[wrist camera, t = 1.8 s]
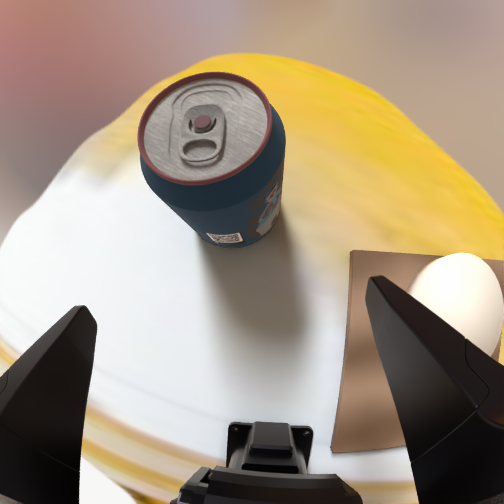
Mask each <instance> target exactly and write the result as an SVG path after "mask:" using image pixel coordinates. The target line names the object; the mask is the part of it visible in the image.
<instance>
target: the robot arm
mask: <svg viewBox="0 0 504 504" xmlns="http://www.w3.org/2000/svg"><path fill="white" fill-rule="evenodd" d="M365 303H366V307H367V311H368V315H369V319H370V323H371V328H372V332H373V336H374V341H375V345H376V348H377V351H378V354H379V357H380V360H381V363H382V366H383V369H384V372H385V375H386V378H387V381H388V384H389V387H390V391H391V394H392V397H393V400H394V404H395V407H396V410H397V414H398V417H399V421H400V424H401V428H402V432H403V435H404V439H405V443H406V447H407V451H408V455H409V459H410V462H411V468H412V472H413V477H414V481H415V486H416V491H417V496H418V501H419V504H504V366H503V365H502V364H500V363H499V362H497V361H496V360H495V359H493V358H492V357H490V356H489V355H488V354H486V353H485V352H484V351H482V350H481V349H480V348H479V347H477V346H476V345H475V344H474V343H472V342H471V341H470V340H469V339H467V338H466V339H465V336H463V335H462V334H461V333H460V332H458V331H457V330H456V329H455V328H453V327H452V326H451V325H449V324H448V323H447V322H446V321H444V320H443V319H442V318H440V317H439V316H438V315H437V314H435V313H434V312H433V311H431V310H430V309H429V308H427V307H426V306H425V305H423V304H422V303H421V302H419V301H418V300H417V299H415V298H414V297H413V296H411V295H410V294H408V293H407V292H406V291H404V290H403V289H402V288H400V287H399V286H397V285H396V284H395V283H393V282H392V281H391V280H389V279H388V278H386V277H385V276H383V275H375V276H371V277H369V279H368V283H367V289H366V295H365ZM96 335H97V323H96V321H95V319H94V318H93V316H92V314H91V313H90V311H89V310H88V308H87V307H86V306H84V305H79V306H74V307H73V308H72V309H71V310H70V311H68V312H67V313H66V314H65V315H64V316H63V317H62V318H61V319H60V320H58V321H57V322H56V323H55V324H54V325H53V326H52V327H51V328H50V329H49V330H48V331H47V332H46V333H44V334H43V335H42V336H41V337H40V338H39V339H38V340H37V341H36V342H35V343H34V344H33V345H32V346H31V347H30V348H29V349H28V350H27V351H26V352H25V353H24V354H23V355H22V356H21V357H20V358H19V359H18V360H17V361H16V362H15V363H14V364H13V365H12V366H11V367H10V368H9V369H8V370H7V371H6V372H5V373H4V374H3V375H2V376H1V377H0V504H79V480H80V472H79V471H80V460H81V459H80V458H81V447H82V437H83V428H84V419H85V412H86V405H87V398H88V392H89V386H90V380H91V375H92V369H93V361H94V352H95V343H96ZM234 426H235V427H237V428H238V429H237V430H234V429H233V428H232V427H234ZM304 431H309V433H307V434H304ZM312 436H313V430H312V428H311V427H310V426H290V425H289V424H288V423H272V422H255V423H243V422H232V423H230V425H229V428H228V442H227V460H226V467H220V466H216V467H215V468H214V470H211V469H210V468H207V467H201V468H200V469H199V470H198V471H197V472H196V473H195V474H194V475H193V476H192V477H191V478H190V479H189V480H188V481H187V482H186V483H185V484H184V485H183V486H182V487H181V489H180V491H179V496H178V498H176V499H174V500H172V501H171V502H170V504H363V502H362V499H361V497H360V495H359V494H358V492H356V491H355V490H354V489H353V488H351V487H350V486H349V485H348V484H346V483H345V482H344V481H343V480H342V479H340V478H339V477H338V476H337V475H336V474H307V465H308V460H309V454H310V448H311V442H312Z"/></svg>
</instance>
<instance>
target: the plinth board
mask: <svg viewBox="0 0 504 504" xmlns="http://www.w3.org/2000/svg"><path fill="white" fill-rule="evenodd" d="M375 275H383V276H385V277H386V278H388V279H389V280H391V281H392V282H393V283H395V284H396V285H397V286H399V287H400V288H402V289H403V290H404V291H406V292H407V293H408V294H410V295H411V296H413V297H414V298H415V299H417V300H418V301H419V302H421V303H422V304H423V305H425V306H426V307H427V308H429V309H430V310H431V311H433V312H434V313H435V314H437V315H438V316H439V317H440V318H442V319H443V320H444V321H446V322H447V323H448V324H449V325H451V326H452V327H453V328H455V329H456V330H457V331H458V332H460V333H461V334H462V335H463V336H465V339H466V338H467V339H469V340H470V341H471V342H472V343H474V344H475V345H476V346H477V347H479V348H480V349H481V350H482V351H484V352H485V353H486V354H488V355H489V356H490V357H492V358H493V359H495V360H496V361H497V362H498V359H499V352H500V344H501V335H502V326H503V318H504V261H501V260H489V259H480V258H479V257H477V256H475V255H472V254H468V253H456V254H452V255H448V256H435V255H422V254H407V253H393V252H378V251H364V250H352V251H351V252H350V271H349V295H348V312H347V325H346V338H345V348H344V358H343V367H342V376H341V384H340V391H339V398H338V405H337V412H336V418H335V424H334V430H333V435H332V441H331V446H330V448H331V450H332V453H339V452H354V451H365V450H374V449H382V448H390V447H397V446H403V445H406V443H405V439H404V435H403V432H402V428H401V424H400V421H399V417H398V414H397V410H396V407H395V404H394V400H393V397H392V394H391V391H390V387H389V384H388V381H387V378H386V375H385V372H384V369H383V366H382V363H381V360H380V357H379V354H378V351H377V348H376V345H375V341H374V336H373V332H372V328H371V323H370V319H369V315H368V311H367V307H366V303H365V295H366V289H367V283H368V279H369V277H371V276H375Z"/></svg>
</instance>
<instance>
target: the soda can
mask: <svg viewBox="0 0 504 504" xmlns="http://www.w3.org/2000/svg"><path fill="white" fill-rule="evenodd" d="M285 144H286V138H285V130H284V126H283V123H282V121H281V119H280V117H279V115H278V113H277V112H276V110H275V109H274V108H273V106H272V105H271V104H270V103H269V101H268V99H267V97H266V96H265V94H264V93H263V92H262V90H261V89H260V88H259V87H258V86H256V85H255V84H254V83H253V82H251V81H249V80H248V79H246V78H244V77H241V76H238V75H235V74H231V73H226V72H205V73H199V74H195V75H191V76H188V77H185V78H183V79H181V80H178V81H176V82H175V83H173V84H171V85H170V86H168V87H167V88H165V89H164V90H163V91H161V92H160V93H159V94H158V95H157V96H156V97H155V98H154V99H153V100H152V101H151V102H150V104H149V105H148V106H147V108H146V109H145V111H144V113H143V115H142V117H141V120H140V123H139V128H138V147H139V151H140V162H141V169H142V172H143V175H144V178H145V180H146V182H147V184H148V185H149V187H150V188H151V189H152V190H153V192H154V193H155V194H156V195H157V196H158V197H159V198H160V199H162V200H163V201H164V202H165V203H166V204H167V205H168V206H169V207H170V208H171V209H172V210H173V211H174V212H175V213H176V214H177V215H179V216H180V217H181V218H182V219H183V220H184V221H185V222H186V223H187V224H188V225H189V226H190V227H191V228H192V229H194V230H195V231H196V232H197V233H198V234H199V235H200V236H201V237H202V238H203V239H205V240H206V241H208V242H210V243H212V244H214V245H217V246H220V247H226V248H238V247H244V246H247V245H250V244H252V243H254V242H256V241H258V240H260V239H261V238H262V237H264V236H265V235H266V234H267V233H268V232H269V231H270V229H271V228H272V227H273V225H274V224H275V222H276V220H277V218H278V215H279V211H280V205H281V194H282V182H283V170H284V157H285Z"/></svg>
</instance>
